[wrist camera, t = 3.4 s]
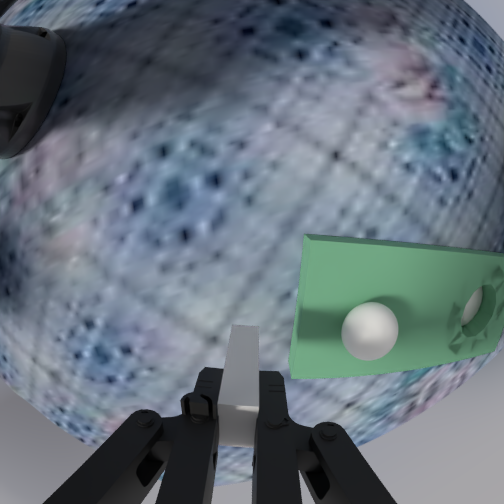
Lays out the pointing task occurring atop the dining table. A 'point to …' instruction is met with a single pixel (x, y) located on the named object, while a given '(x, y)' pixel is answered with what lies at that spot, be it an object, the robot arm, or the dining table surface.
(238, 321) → the dining table surface
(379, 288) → the green rectangular board
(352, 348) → the ball
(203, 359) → the dining table surface
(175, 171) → the dining table surface
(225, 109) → the dining table surface
